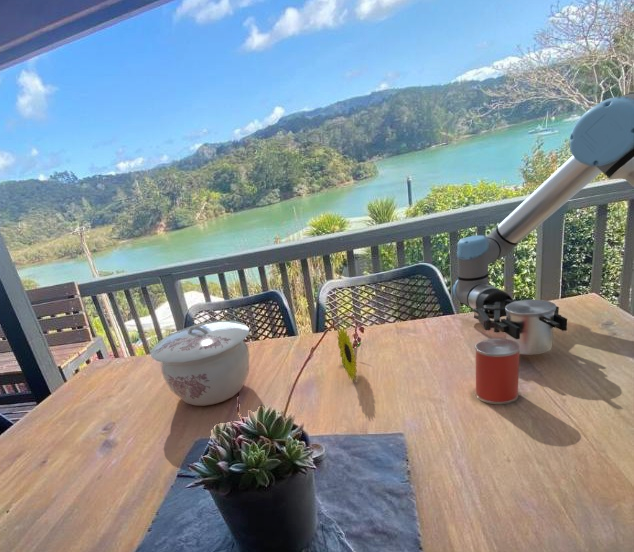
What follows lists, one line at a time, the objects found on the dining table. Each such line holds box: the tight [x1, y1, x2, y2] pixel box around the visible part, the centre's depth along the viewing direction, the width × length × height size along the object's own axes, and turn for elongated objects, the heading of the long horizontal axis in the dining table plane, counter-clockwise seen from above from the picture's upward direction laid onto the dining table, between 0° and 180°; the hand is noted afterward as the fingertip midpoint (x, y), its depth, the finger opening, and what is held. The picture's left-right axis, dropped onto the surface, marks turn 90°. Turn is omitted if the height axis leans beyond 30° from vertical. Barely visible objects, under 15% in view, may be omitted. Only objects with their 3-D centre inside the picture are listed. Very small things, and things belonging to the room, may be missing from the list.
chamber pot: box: [149, 320, 250, 407], centre depth 120 cm, size 28×28×21 cm
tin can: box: [474, 338, 520, 405], centre depth 90 cm, size 8×8×12 cm
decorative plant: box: [336, 326, 362, 382], centre depth 118 cm, size 15×6×30 cm
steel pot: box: [505, 299, 560, 356], centre depth 98 cm, size 10×14×10 cm, turn 177°
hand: (541, 329), depth 96 cm, fingers closed on steel pot, 9 cm apart
